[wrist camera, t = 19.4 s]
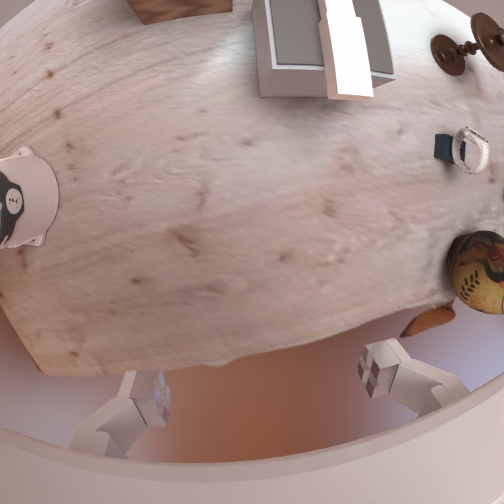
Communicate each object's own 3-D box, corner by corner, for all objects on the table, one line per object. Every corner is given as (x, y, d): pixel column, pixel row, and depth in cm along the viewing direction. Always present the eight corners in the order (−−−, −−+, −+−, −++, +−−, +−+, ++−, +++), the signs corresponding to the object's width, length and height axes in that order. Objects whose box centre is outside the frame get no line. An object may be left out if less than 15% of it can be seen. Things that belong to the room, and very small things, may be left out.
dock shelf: (260, 97, 37) (273, 67, 23) (251, 10, 32) (259, -42, 18) (349, 98, 38) (398, 78, 23) (336, 15, 32) (372, -27, 18)
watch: (455, 131, 40) (495, 133, 29) (452, 171, 42) (492, 179, 32) (435, 124, 39) (476, 122, 29) (432, 166, 42) (473, 172, 31)
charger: (328, 99, 24) (338, 93, 22) (308, -24, 19) (314, -37, 16) (360, 101, 24) (373, 96, 22) (338, -20, 19) (347, -32, 16)
